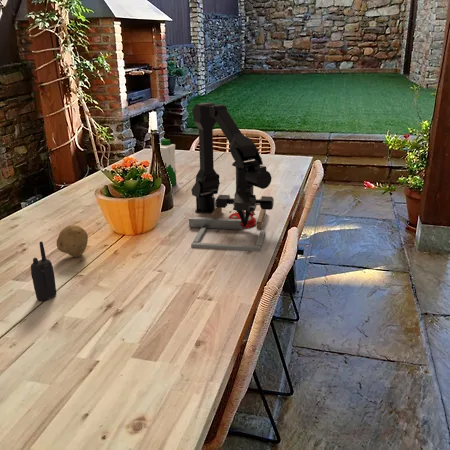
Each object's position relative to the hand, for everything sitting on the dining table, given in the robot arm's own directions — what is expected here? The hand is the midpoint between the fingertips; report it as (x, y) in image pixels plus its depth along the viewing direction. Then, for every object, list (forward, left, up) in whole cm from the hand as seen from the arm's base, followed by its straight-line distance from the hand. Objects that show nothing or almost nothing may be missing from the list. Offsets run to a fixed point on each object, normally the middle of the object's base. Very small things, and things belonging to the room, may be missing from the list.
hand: (244, 226), depth 159 cm
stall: (-4, +9, -1) cm, 10 cm away
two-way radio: (-43, -52, -2) cm, 67 cm away
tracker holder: (-1, +7, -2) cm, 8 cm away
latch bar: (-10, 0, -1) cm, 10 cm away
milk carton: (-43, +48, -2) cm, 64 cm away
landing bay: (-4, -9, -1) cm, 10 cm away
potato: (-48, -28, -2) cm, 55 cm away
